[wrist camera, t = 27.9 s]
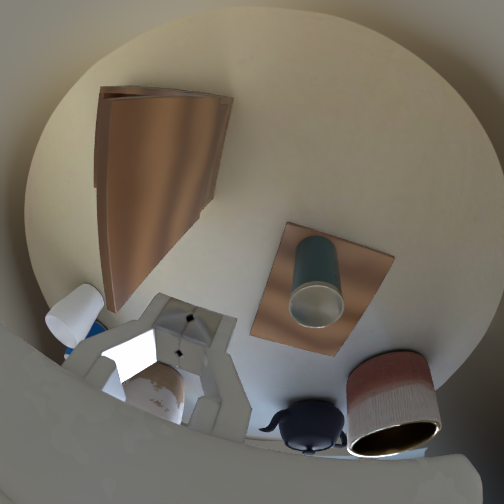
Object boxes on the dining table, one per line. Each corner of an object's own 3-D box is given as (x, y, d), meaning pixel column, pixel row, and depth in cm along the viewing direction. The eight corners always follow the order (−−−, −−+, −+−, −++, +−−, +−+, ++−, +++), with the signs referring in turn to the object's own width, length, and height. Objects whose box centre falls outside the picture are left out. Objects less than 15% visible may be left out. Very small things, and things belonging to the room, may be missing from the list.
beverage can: (94, 334, 60) (70, 368, 50) (85, 315, 57) (58, 349, 47) (113, 340, 59) (89, 376, 49) (104, 321, 56) (77, 358, 46)
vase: (202, 373, 58) (168, 461, 38) (188, 399, 66) (160, 470, 47) (138, 343, 57) (92, 424, 38) (135, 374, 65) (100, 440, 46)
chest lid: (107, 310, 17) (116, 314, 17) (101, 99, 10) (113, 99, 10) (192, 216, 31) (199, 218, 31) (214, 96, 24) (222, 97, 24)
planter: (399, 398, 52) (405, 456, 39) (333, 392, 53) (330, 456, 40) (442, 351, 43) (461, 417, 30) (369, 341, 44) (378, 419, 31)
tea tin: (302, 229, 36) (298, 278, 26) (343, 242, 35) (353, 294, 26) (289, 265, 39) (281, 319, 29) (328, 276, 39) (330, 333, 29)
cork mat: (287, 221, 36) (286, 223, 36) (394, 256, 36) (395, 258, 35) (250, 332, 48) (249, 335, 47) (334, 354, 47) (334, 356, 47)
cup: (114, 314, 54) (85, 353, 44) (86, 308, 55) (57, 343, 45) (99, 280, 49) (64, 318, 39) (71, 276, 51) (38, 310, 41)
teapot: (367, 409, 56) (369, 452, 45) (327, 430, 64) (324, 468, 54) (285, 378, 53) (277, 430, 43) (249, 403, 61) (239, 446, 51)
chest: (117, 175, 37) (93, 187, 32) (126, 85, 30) (100, 86, 25) (212, 198, 37) (197, 215, 32) (233, 97, 29) (219, 97, 24)
